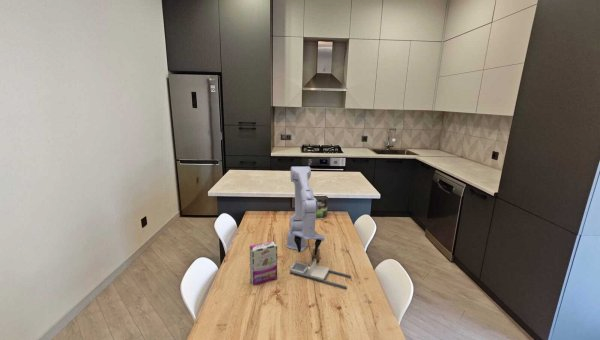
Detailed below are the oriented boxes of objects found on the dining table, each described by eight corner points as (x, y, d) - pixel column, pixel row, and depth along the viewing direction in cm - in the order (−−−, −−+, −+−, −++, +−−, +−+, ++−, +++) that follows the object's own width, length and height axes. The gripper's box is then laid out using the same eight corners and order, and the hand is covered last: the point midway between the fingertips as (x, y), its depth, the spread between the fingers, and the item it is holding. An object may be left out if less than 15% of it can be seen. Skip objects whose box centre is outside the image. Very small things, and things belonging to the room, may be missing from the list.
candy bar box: (273, 273, 128) (273, 240, 124) (277, 279, 124) (278, 245, 120) (249, 279, 123) (249, 245, 119) (253, 285, 119) (252, 250, 115)
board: (288, 273, 128) (289, 269, 128) (296, 263, 136) (296, 259, 136) (346, 289, 119) (346, 285, 118) (350, 277, 127) (351, 273, 126)
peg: (310, 262, 138) (311, 251, 137) (313, 258, 141) (313, 247, 140) (317, 263, 137) (318, 252, 135) (320, 260, 140) (320, 249, 138)
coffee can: (326, 220, 188) (327, 200, 184) (311, 218, 189) (312, 198, 186) (327, 214, 198) (328, 195, 194) (312, 212, 199) (313, 193, 196)
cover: (307, 275, 125) (307, 267, 124) (313, 265, 133) (314, 257, 132) (323, 280, 122) (324, 271, 121) (329, 269, 130) (329, 261, 129)
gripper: (290, 226, 125) (290, 254, 128) (323, 231, 121) (321, 259, 124) (295, 220, 131) (294, 246, 135) (325, 225, 128) (324, 252, 131)
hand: (307, 252), depth 130 cm, fingers open, 7 cm apart
